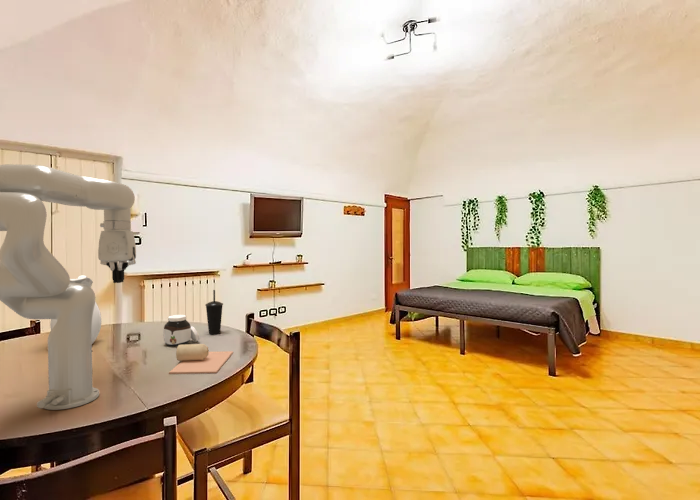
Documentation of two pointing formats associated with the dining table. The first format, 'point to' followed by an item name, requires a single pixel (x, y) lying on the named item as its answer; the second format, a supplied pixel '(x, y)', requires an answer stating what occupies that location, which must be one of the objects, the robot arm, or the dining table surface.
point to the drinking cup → (214, 316)
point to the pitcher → (96, 313)
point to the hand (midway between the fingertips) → (118, 282)
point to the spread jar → (179, 331)
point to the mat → (203, 364)
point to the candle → (192, 352)
